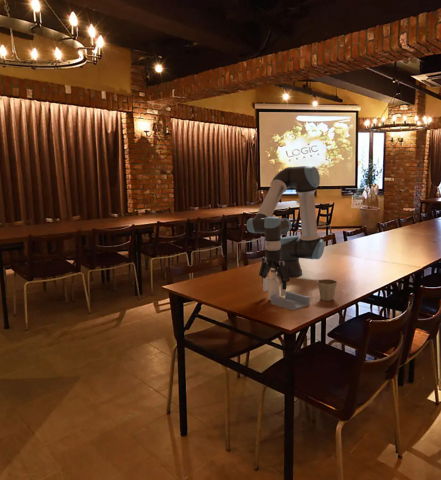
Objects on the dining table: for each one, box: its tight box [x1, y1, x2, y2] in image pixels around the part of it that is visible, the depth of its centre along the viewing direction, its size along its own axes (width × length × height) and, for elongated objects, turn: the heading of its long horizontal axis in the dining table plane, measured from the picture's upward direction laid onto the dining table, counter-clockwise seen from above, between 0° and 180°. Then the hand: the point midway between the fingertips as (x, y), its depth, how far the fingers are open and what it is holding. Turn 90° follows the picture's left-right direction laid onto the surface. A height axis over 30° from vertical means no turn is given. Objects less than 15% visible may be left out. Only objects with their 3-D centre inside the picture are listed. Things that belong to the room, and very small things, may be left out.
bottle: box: [268, 269, 281, 301], centre depth 191 cm, size 5×5×15 cm
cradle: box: [270, 290, 311, 311], centre depth 183 cm, size 14×11×4 cm
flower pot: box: [316, 278, 338, 302], centre depth 188 cm, size 9×9×9 cm
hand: (274, 292), depth 191 cm, fingers open, 11 cm apart
